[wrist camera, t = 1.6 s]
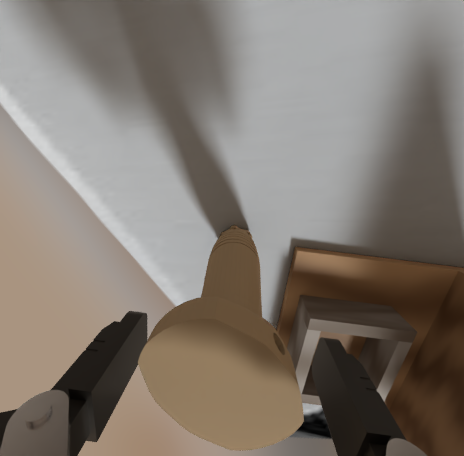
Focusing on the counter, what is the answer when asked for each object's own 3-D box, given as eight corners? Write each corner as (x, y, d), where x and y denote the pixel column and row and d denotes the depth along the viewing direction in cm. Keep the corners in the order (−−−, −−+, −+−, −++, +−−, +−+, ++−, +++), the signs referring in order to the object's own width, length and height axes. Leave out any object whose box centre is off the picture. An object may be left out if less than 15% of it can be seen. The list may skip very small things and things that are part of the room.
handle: (235, 274, 23) (222, 463, 9) (198, 227, 22) (110, 361, 7) (273, 250, 22) (330, 422, 8) (237, 200, 20) (224, 293, 6)
